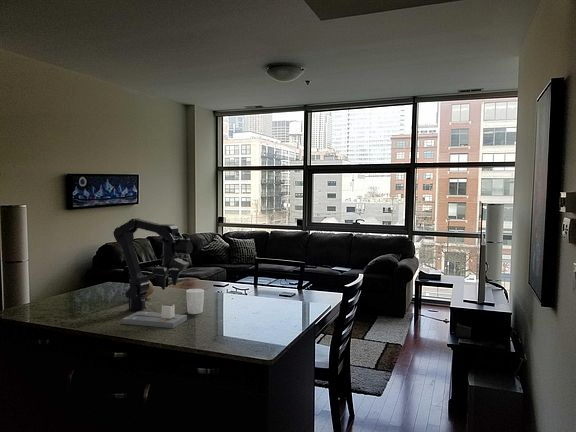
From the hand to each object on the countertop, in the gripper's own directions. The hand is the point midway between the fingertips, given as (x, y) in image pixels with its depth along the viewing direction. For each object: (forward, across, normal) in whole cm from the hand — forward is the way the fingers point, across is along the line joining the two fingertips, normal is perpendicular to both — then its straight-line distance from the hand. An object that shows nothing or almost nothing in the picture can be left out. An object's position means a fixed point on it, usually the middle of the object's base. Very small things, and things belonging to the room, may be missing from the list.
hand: (169, 287), depth 195 cm
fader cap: (+9, -13, -8) cm, 18 cm away
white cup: (+12, +5, -10) cm, 16 cm away
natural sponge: (+12, +21, +26) cm, 36 cm away
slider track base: (+12, -13, -2) cm, 18 cm away
